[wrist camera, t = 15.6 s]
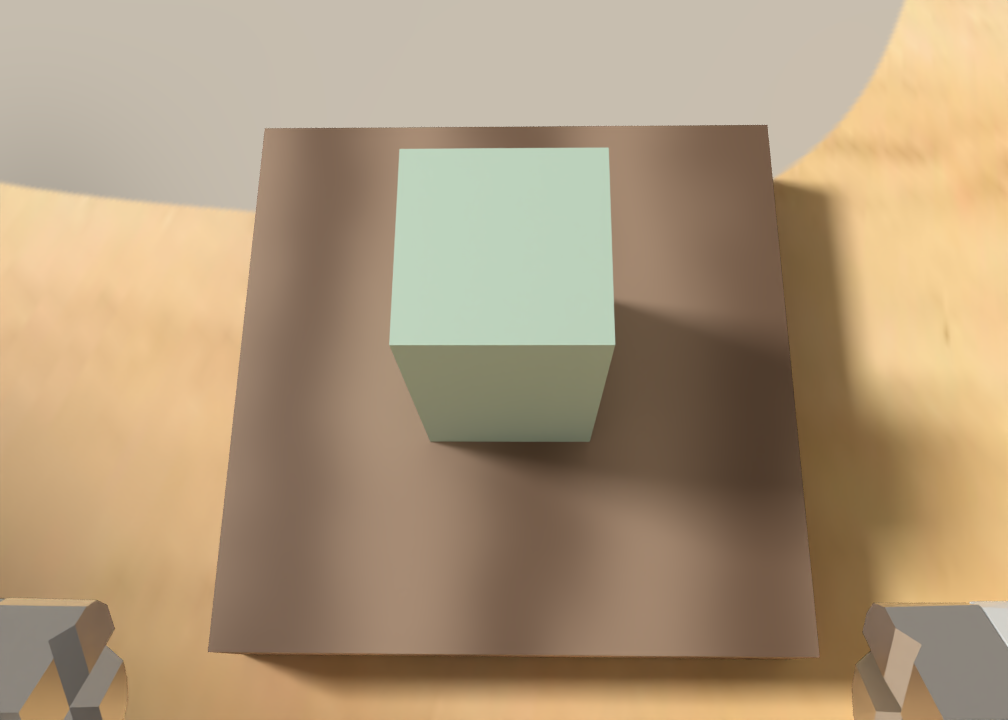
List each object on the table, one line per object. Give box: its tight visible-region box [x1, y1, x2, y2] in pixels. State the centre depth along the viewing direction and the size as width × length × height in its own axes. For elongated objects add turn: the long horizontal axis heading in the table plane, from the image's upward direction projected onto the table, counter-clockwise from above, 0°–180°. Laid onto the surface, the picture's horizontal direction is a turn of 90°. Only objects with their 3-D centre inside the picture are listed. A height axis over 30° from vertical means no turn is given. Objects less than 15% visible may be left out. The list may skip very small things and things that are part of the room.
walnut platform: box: [208, 125, 820, 659], centre depth 28 cm, size 16×16×3 cm
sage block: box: [389, 148, 615, 442], centre depth 23 cm, size 4×4×8 cm
